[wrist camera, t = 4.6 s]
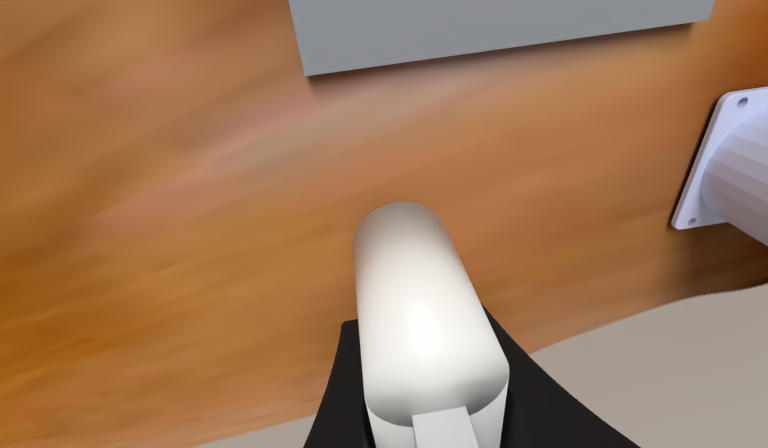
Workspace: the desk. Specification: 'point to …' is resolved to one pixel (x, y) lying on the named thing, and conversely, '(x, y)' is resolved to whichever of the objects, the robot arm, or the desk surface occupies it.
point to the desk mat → (462, 26)
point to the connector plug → (424, 336)
